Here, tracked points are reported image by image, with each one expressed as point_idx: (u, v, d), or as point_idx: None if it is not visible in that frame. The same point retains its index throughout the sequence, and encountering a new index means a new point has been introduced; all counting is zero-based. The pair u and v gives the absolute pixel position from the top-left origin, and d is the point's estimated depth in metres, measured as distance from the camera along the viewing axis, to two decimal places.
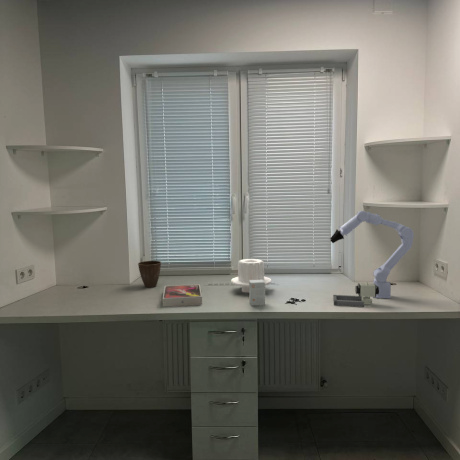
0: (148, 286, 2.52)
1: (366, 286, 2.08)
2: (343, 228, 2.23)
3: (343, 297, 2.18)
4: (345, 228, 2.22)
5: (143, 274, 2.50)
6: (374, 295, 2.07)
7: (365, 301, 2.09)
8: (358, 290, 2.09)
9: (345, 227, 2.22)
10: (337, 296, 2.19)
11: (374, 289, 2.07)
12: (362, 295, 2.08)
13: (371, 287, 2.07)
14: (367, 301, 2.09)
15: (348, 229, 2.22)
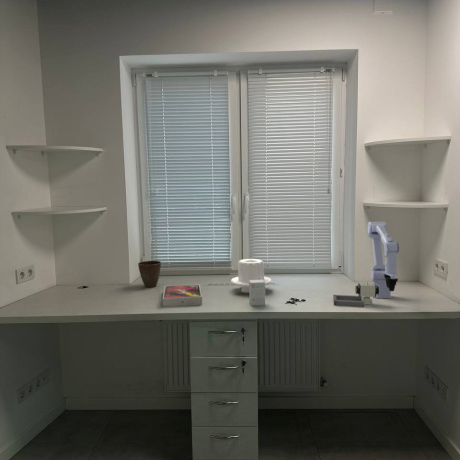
0: (148, 286, 2.52)
1: (366, 286, 2.08)
2: (388, 271, 2.04)
3: (343, 297, 2.18)
4: (390, 270, 2.04)
5: (143, 274, 2.50)
6: (374, 295, 2.07)
7: (365, 301, 2.09)
8: (358, 290, 2.09)
9: (389, 269, 2.04)
10: (337, 296, 2.19)
11: (374, 289, 2.07)
12: (362, 295, 2.08)
13: (371, 287, 2.07)
14: (367, 301, 2.09)
15: (393, 268, 2.03)
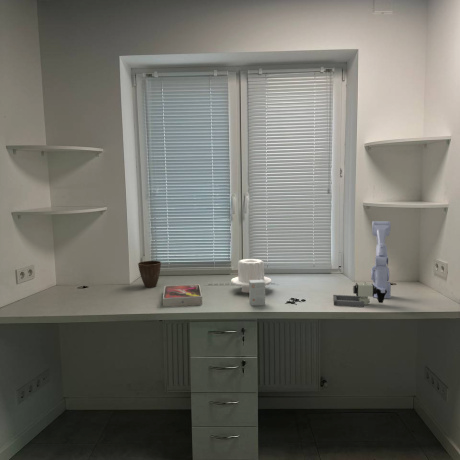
0: (148, 286, 2.52)
1: (364, 286, 2.08)
2: (378, 285, 2.06)
3: (343, 297, 2.18)
4: (380, 283, 2.06)
5: (143, 274, 2.50)
6: (372, 295, 2.08)
7: None
8: (356, 290, 2.09)
9: (379, 283, 2.06)
10: (337, 296, 2.19)
11: (372, 289, 2.07)
12: (360, 295, 2.09)
13: (369, 287, 2.08)
14: (365, 301, 2.10)
15: (383, 282, 2.05)
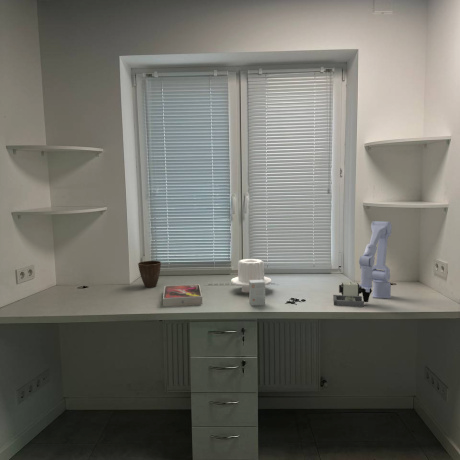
0: (148, 286, 2.52)
1: (349, 285, 2.10)
2: (363, 284, 2.08)
3: (343, 297, 2.18)
4: (365, 283, 2.08)
5: (143, 274, 2.50)
6: (357, 294, 2.09)
7: (348, 300, 2.12)
8: (341, 289, 2.11)
9: (364, 282, 2.08)
10: (337, 296, 2.19)
11: (357, 288, 2.09)
12: (345, 294, 2.11)
13: (354, 286, 2.09)
14: (350, 300, 2.11)
15: (368, 281, 2.07)
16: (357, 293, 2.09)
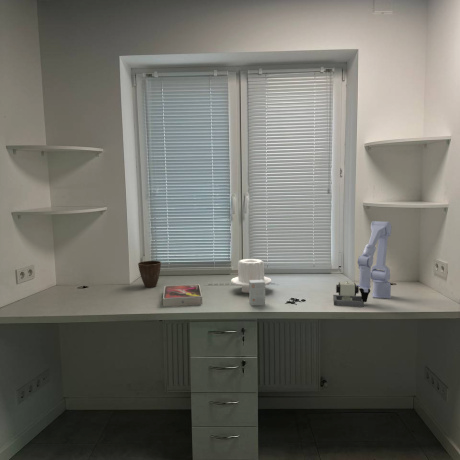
0: (148, 286, 2.52)
1: (346, 285, 2.10)
2: (362, 284, 2.08)
3: (343, 297, 2.18)
4: (363, 283, 2.08)
5: (143, 274, 2.50)
6: (354, 294, 2.10)
7: None
8: (338, 289, 2.11)
9: (362, 282, 2.08)
10: (337, 296, 2.19)
11: (354, 288, 2.09)
12: (342, 294, 2.11)
13: (351, 286, 2.10)
14: (347, 300, 2.12)
15: (366, 281, 2.07)
16: (354, 293, 2.10)
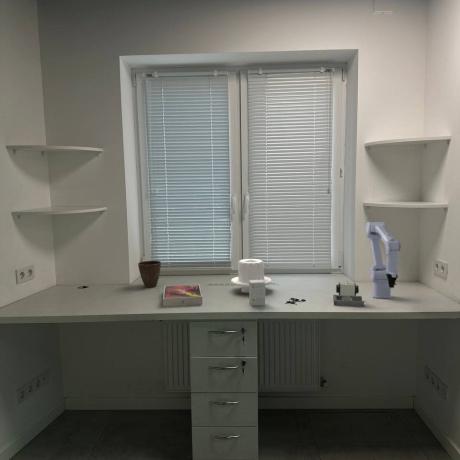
0: (148, 286, 2.52)
1: (346, 285, 2.10)
2: (389, 270, 2.05)
3: (343, 297, 2.18)
4: (391, 268, 2.05)
5: (143, 274, 2.50)
6: (354, 294, 2.10)
7: None
8: (338, 289, 2.11)
9: (390, 267, 2.05)
10: (337, 296, 2.19)
11: (354, 288, 2.09)
12: (342, 294, 2.11)
13: (351, 286, 2.10)
14: (347, 300, 2.12)
15: (394, 267, 2.04)
16: (354, 293, 2.10)
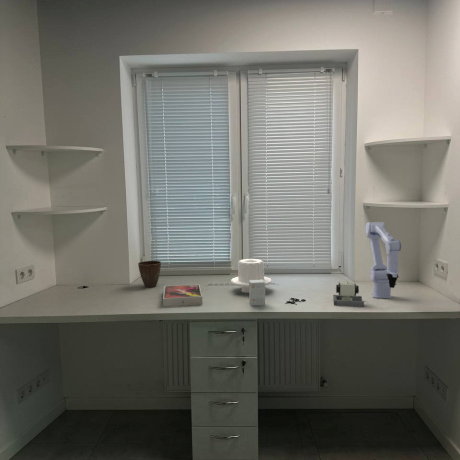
0: (148, 286, 2.52)
1: (346, 285, 2.10)
2: (390, 269, 2.05)
3: (343, 297, 2.18)
4: (391, 268, 2.05)
5: (143, 274, 2.50)
6: (354, 294, 2.10)
7: None
8: (338, 289, 2.11)
9: (391, 267, 2.05)
10: (337, 296, 2.19)
11: (354, 288, 2.09)
12: (342, 294, 2.11)
13: (351, 286, 2.10)
14: (347, 300, 2.12)
15: (395, 267, 2.04)
16: (354, 293, 2.10)
